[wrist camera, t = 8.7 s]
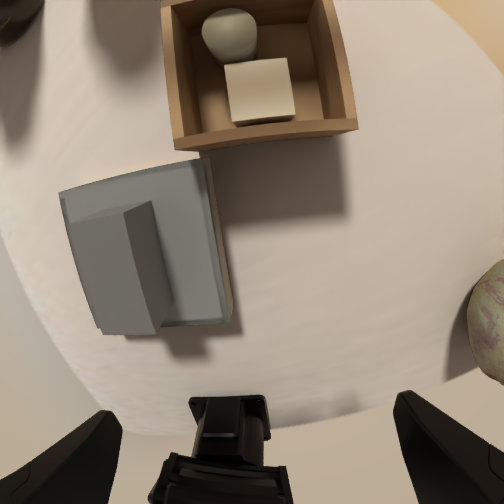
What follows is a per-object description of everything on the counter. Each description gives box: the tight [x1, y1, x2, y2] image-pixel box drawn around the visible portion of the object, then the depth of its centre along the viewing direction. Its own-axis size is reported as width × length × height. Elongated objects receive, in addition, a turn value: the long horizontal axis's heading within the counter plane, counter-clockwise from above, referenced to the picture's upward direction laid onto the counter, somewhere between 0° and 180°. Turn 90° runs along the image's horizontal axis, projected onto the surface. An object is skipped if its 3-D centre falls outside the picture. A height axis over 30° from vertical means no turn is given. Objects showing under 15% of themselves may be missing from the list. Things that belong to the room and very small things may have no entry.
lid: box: [59, 158, 234, 335], centre depth 15 cm, size 9×9×6 cm
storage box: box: [160, 0, 358, 152], centre depth 13 cm, size 8×8×5 cm
